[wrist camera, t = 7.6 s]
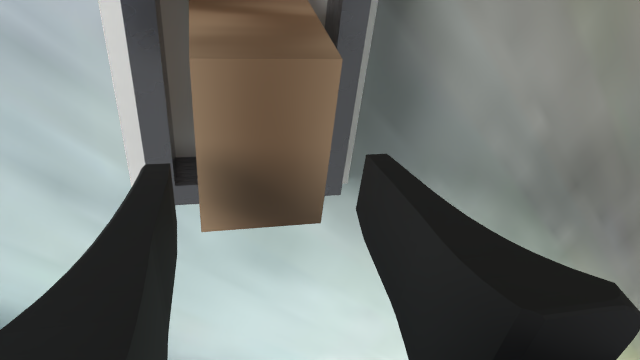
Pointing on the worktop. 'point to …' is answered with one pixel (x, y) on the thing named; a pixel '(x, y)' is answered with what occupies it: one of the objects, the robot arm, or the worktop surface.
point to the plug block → (261, 111)
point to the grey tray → (175, 84)
